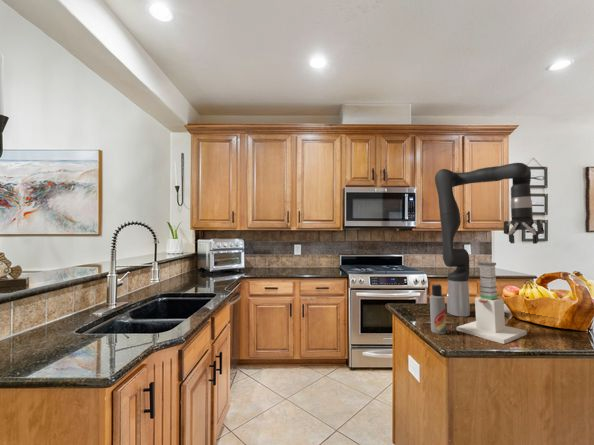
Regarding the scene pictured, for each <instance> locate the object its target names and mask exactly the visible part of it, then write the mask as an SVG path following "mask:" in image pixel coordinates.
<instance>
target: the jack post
mask: <svg viewBox="0 0 594 445" xmlns="http://www.w3.org/2000/svg"><path fill="white" fill-rule="evenodd" d="M477 264H478V266H479V279H480V282H479V283H480V285H479V287H480V295H479V297H480V298H481V299H487V300H496V299H497V298H498V295H497V293H498V291H497V287H498V286H497V280H496V279H497V276H496V266H497V263H496V262H489V261H482V262H478V263H477Z"/></svg>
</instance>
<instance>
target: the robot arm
mask: <svg viewBox="0 0 594 445" xmlns="http://www.w3.org/2000/svg"><path fill="white" fill-rule="evenodd" d="M531 170H532V169H531V167H529V166H528V165H527V164H525V163H523V162H513V163H508V164H501V165H498V166H497V165H495V166H490V167H482V168H478V169H475V170H472V171H465V172H457V171H456V172H455V171H452V170H450V169H447V168H441V169H440V170H438V171H437V172H436V174H435V176H434V181H435V188H436V192H437V197H438V208H439V218H440V226H441V236H442V237H441V238H442V259H443V263H444V265H445V266H446V267H448V268H453V267H454V268H456V269H455V270H454V271H452V272H449V273H448V274H447V290H448V292H447V294H446V310H447V311H446V312H447V314H449V315H452V316H454V317H455V316H456V317H469V316H471V309H470V308H471V307H470V306H471V305H470V286H469V283H470V282H469V277H470V255H469V252H468V250H467V249H465V248H454V240H455V239H454V237H455V236H456V235H457V232H458V231H459V228H460V226H461V222H462V221H461V215H460V214H461V212H460V209H459V206H458V203H457V201H456V198H455V197H454V192H453V190H454V189H453V188H455V187H459V186H462V185H469V184H479V183H490V182H499V181H503V180H511V179H512V180H511V181H512V186H510V212H511V214H510V215H511V216H510V217H511V221H509V220H504V221H503V234H504V235H508V242H509V243H510V244H515V233H516V232H517V231H523V230H525V231H529V232H530V233H531V234H532V244H535V245H536V244H538V243H539V235H541V234H544V232H545V230H544V223H543V219H534V217H533V216H534V214H533V203H532V202H533V201H532V196H531V180H532V171H531ZM533 225H536V228H535V227H534V226H533ZM510 226H512V227H511V228H510ZM536 229H537V230H536Z"/></svg>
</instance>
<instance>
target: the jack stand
mask: <svg viewBox="0 0 594 445" xmlns="http://www.w3.org/2000/svg"><path fill="white" fill-rule="evenodd" d="M504 300H505V299H504V298H501V297H497V299H496V300H487V299H481V298H480V296H476V297H474V308H475V320H474V321H470V322H468V323H465V324H461V325H458V326H456V331H457V332H461V333H464V334H467V335H468V334H469V335H471V336H476V337H477V338H478V337H479V338H481V339H485V340H488V341H492V342H496V343H499V344H503V345H505V344H507V343H510V342H513V341H515V340H517V339H520V338H522V337H525V336H526V335H528V333H527V332H528V331H527V330H525V329H521V328H518V327H512V326H507V325H506V322H505V306H504V305H505V303H504Z"/></svg>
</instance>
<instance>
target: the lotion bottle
mask: <svg viewBox="0 0 594 445" xmlns="http://www.w3.org/2000/svg"><path fill="white" fill-rule="evenodd" d="M442 289H443V287H442V285H441V284H440V283H439V284H438V283H436V284H435V283H434V284H432V285H431V294H430V295H429V312H430V314H429V315H430V330H431V332H432V333H434V334H436V335H445V334H446V333H447V324H446V323H447V322H446V321H447V320H446V318H447V317H446V303H445V301H446V300H445V296H444V295H443V294H442V293H443V290H442Z"/></svg>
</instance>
